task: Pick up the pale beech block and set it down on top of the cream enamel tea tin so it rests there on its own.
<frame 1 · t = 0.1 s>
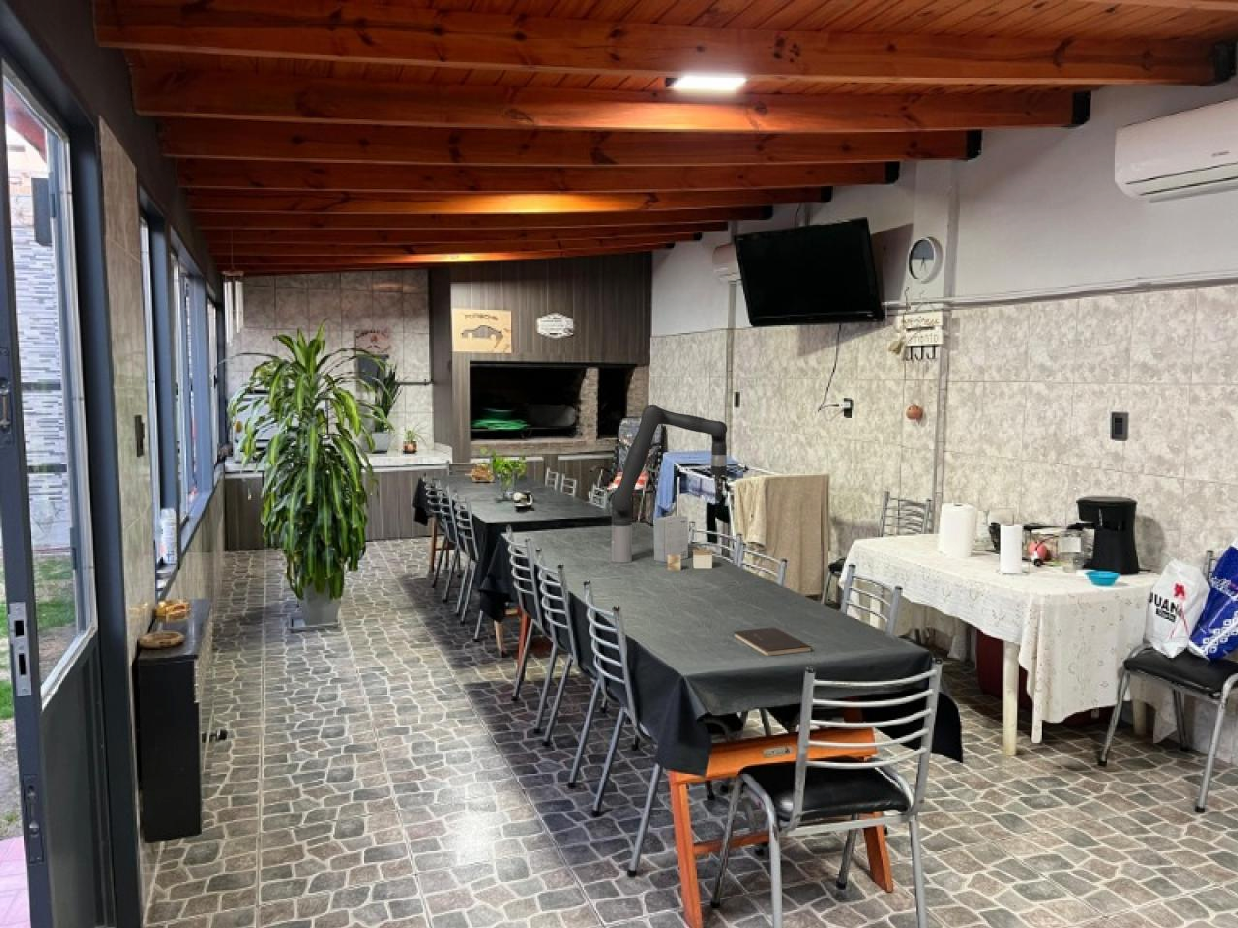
hand: (718, 499, 429), 29 cm above the table, fingers open, 8 cm apart
beech block: (674, 569, 415), on the table
tea tin: (702, 566, 421), on the table
hard drive box: (670, 559, 437), on the table
hardcover book: (771, 645, 300), on the table
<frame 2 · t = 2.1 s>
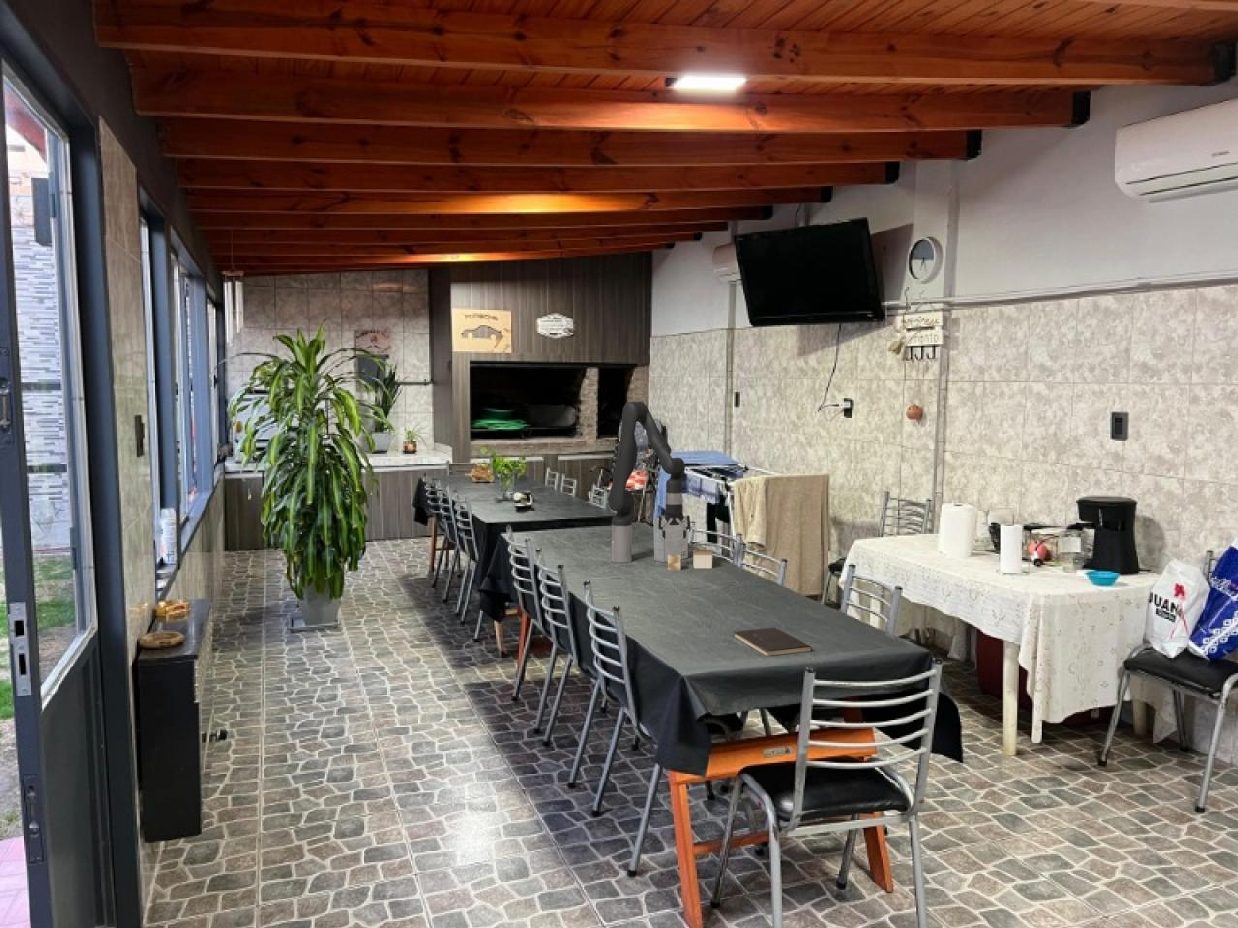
hand: (674, 538, 414), 14 cm above the table, fingers open, 8 cm apart
nothing on the table moved.
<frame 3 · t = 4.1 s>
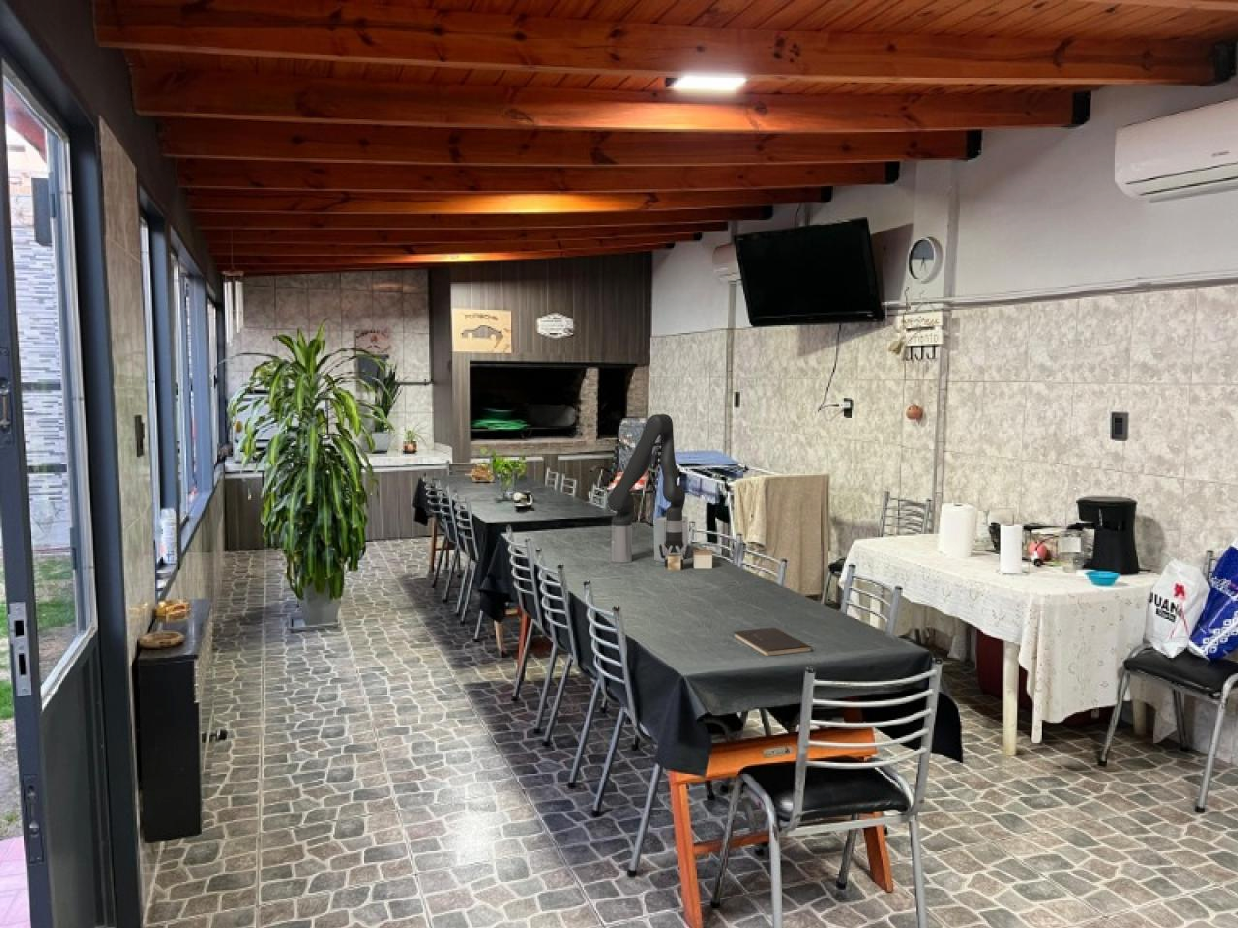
hand: (674, 567, 415), 1 cm above the table, fingers closed on beech block, 5 cm apart
beech block: (673, 568, 415), on the table, touching gripper
everything else where it was.
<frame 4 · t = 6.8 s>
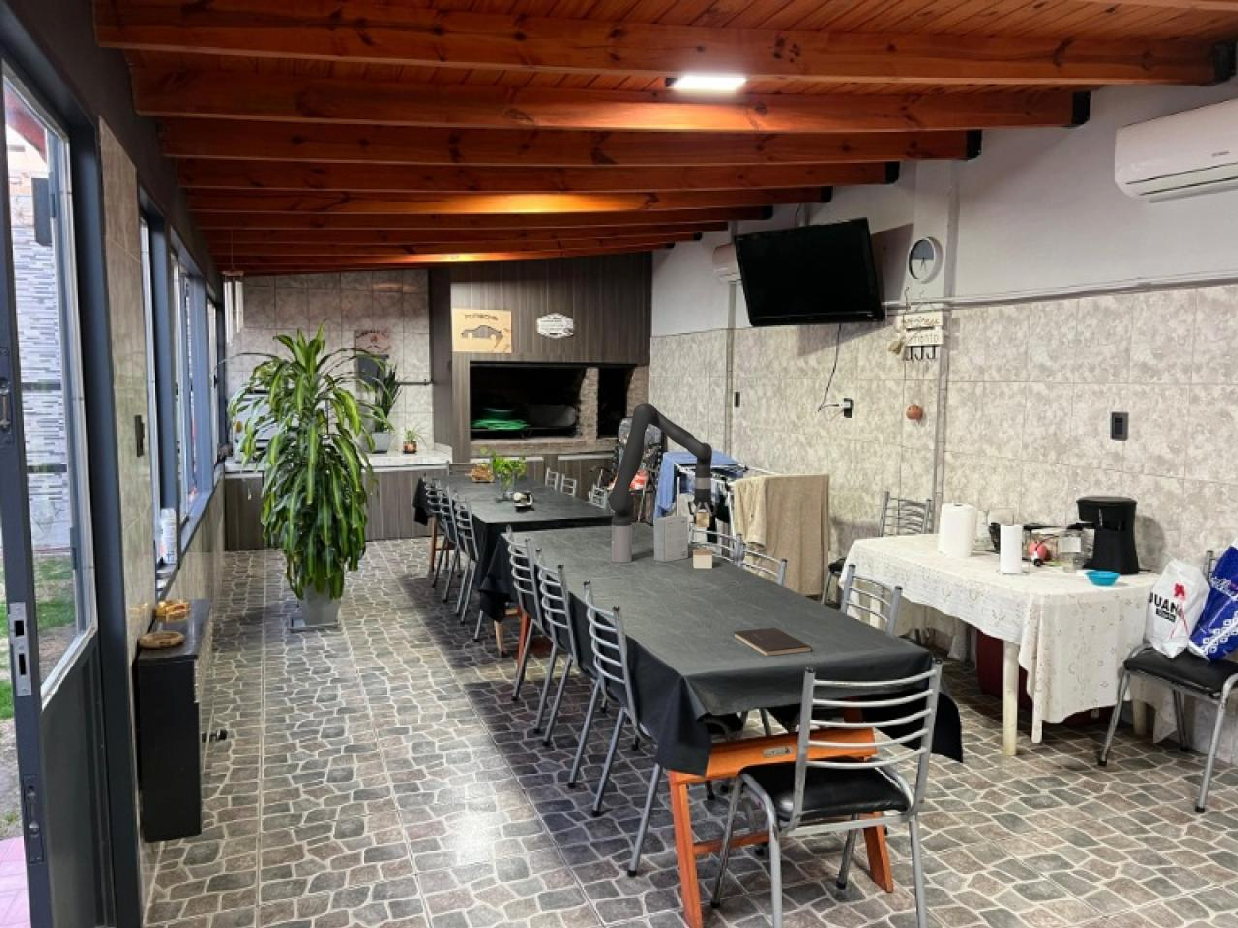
hand: (702, 524, 419), 19 cm above the table, fingers closed on beech block, 5 cm apart
beech block: (702, 525, 419), point 19 cm above the table, touching gripper
everything else where it was.
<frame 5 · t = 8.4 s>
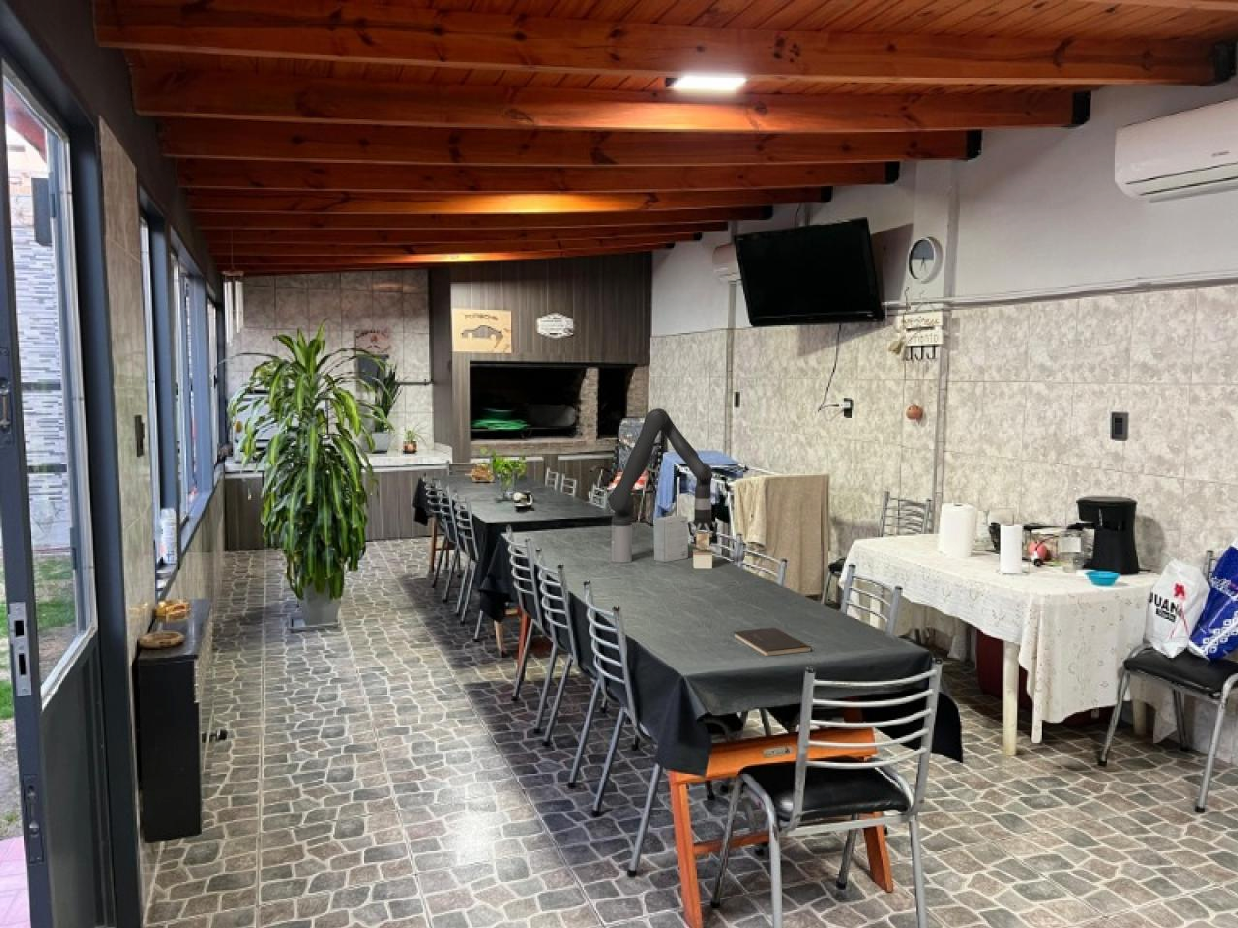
hand: (702, 544, 420), 10 cm above the table, fingers closed on beech block, 5 cm apart
beech block: (702, 546, 420), point 9 cm above the table, touching gripper
everything else where it was.
when the fingers open (9 cm above the table, at t = 9.5 s): beech block drops 1 cm, resting on tea tin.
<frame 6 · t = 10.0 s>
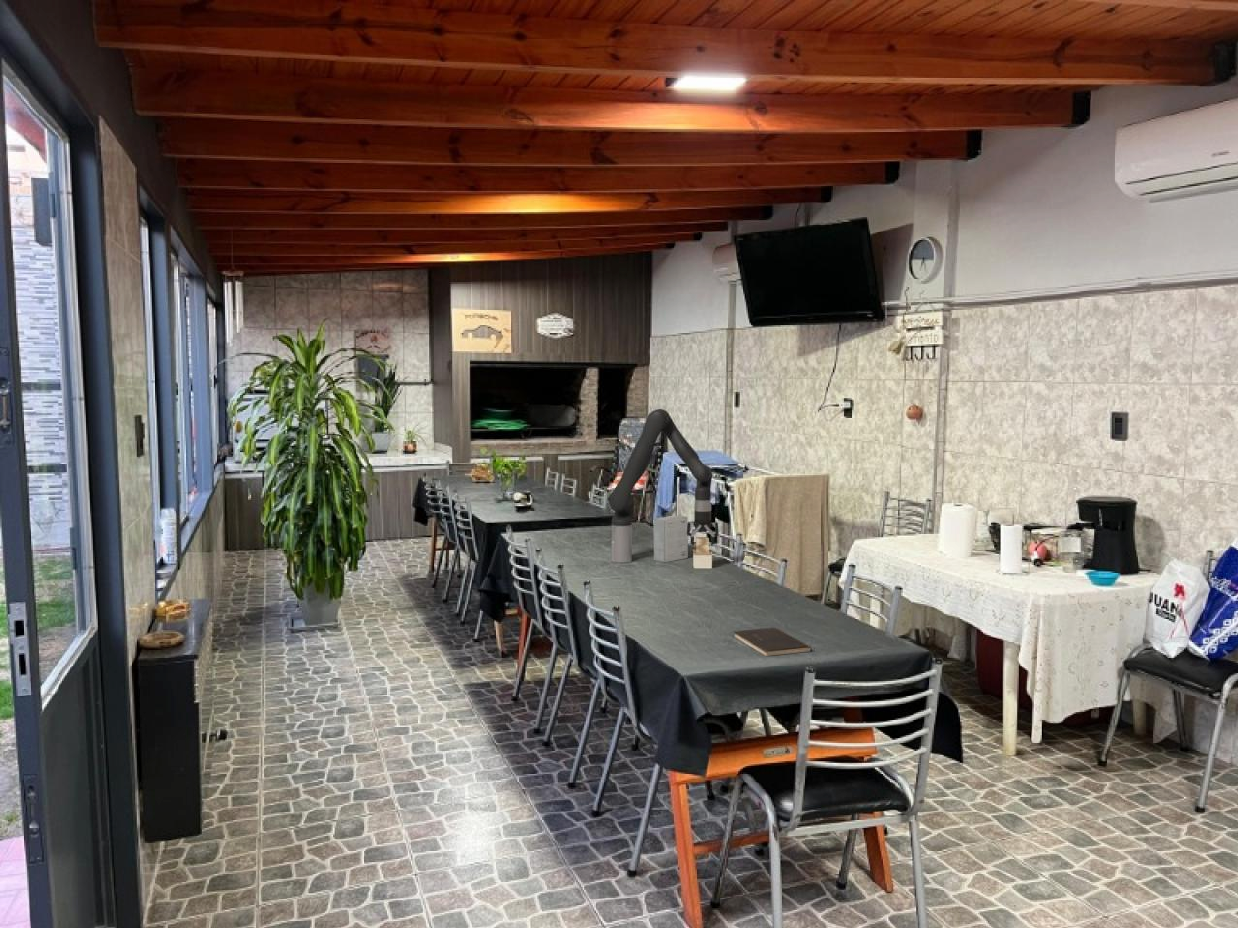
hand: (702, 545, 420), 10 cm above the table, fingers open, 8 cm apart
beech block: (702, 551, 420), point 7 cm above the table, touching tea tin
tea tin: (702, 566, 421), on the table, touching beech block
everything else where it was.
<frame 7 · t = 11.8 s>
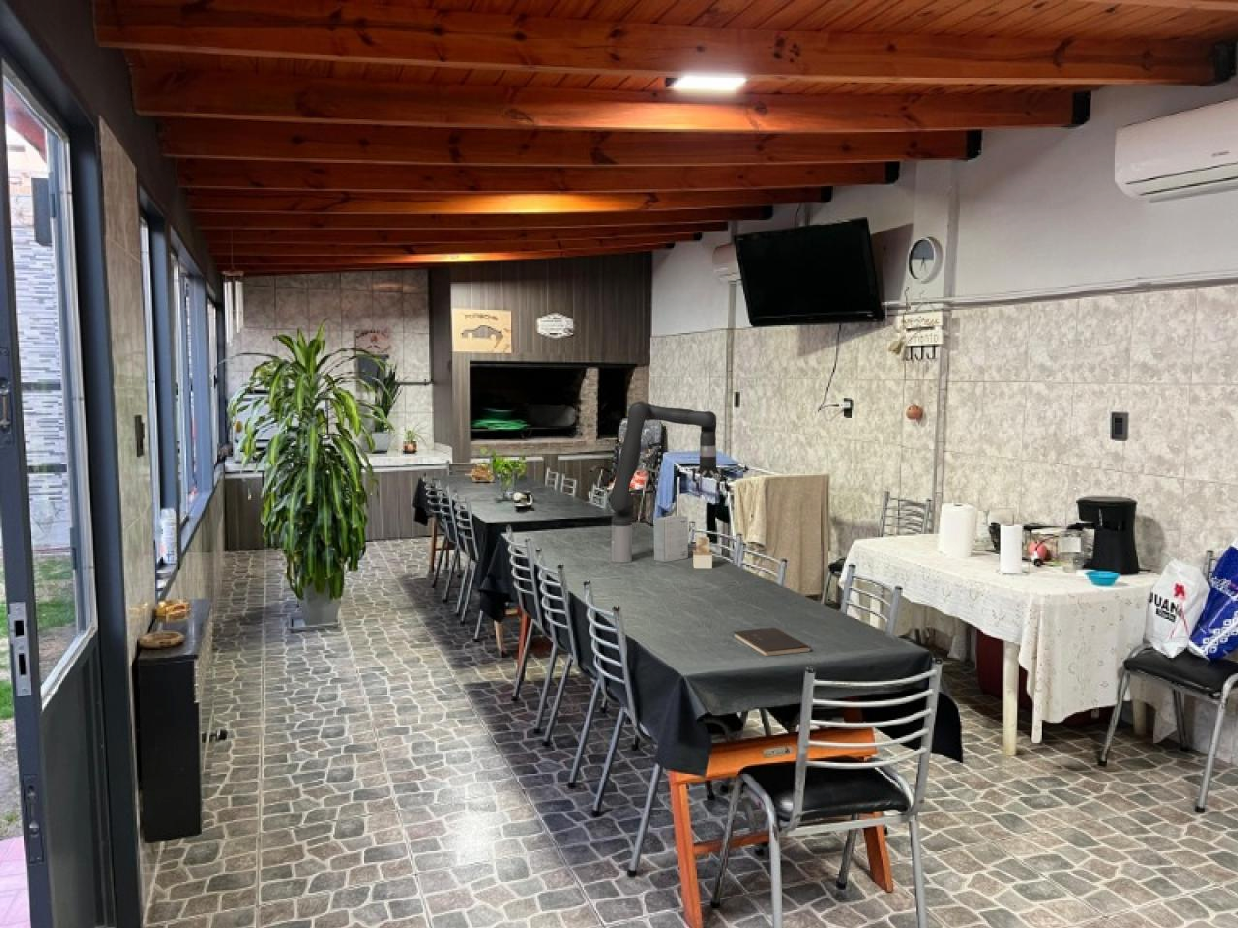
hand: (707, 490, 421), 34 cm above the table, fingers open, 8 cm apart
beech block: (702, 551, 420), point 7 cm above the table
tea tin: (702, 566, 421), on the table
everything else where it was.
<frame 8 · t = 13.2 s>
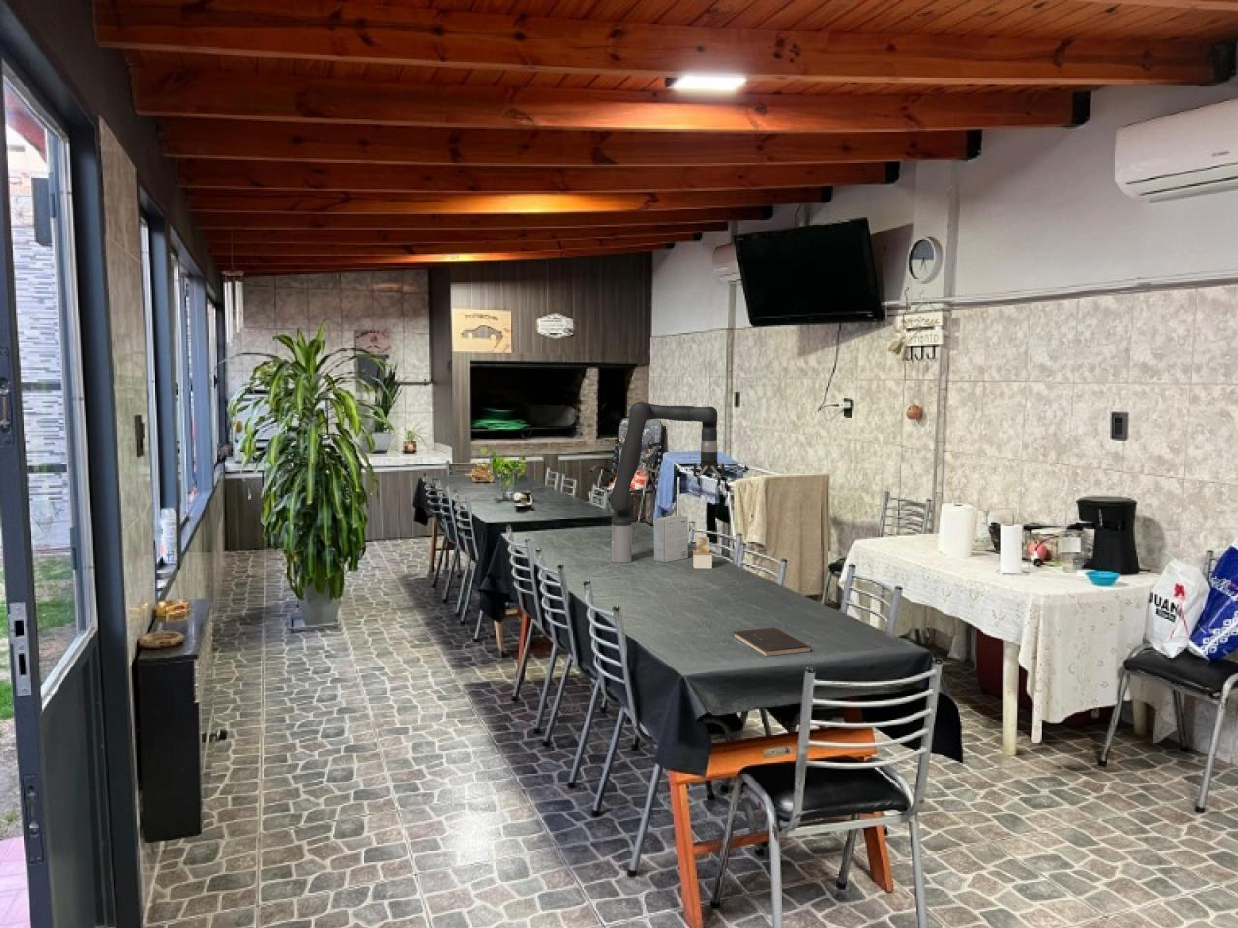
hand: (708, 486, 422), 36 cm above the table, fingers open, 8 cm apart
beech block: (702, 551, 420), point 7 cm above the table, touching tea tin
tea tin: (702, 566, 421), on the table, touching beech block
everything else where it was.
at the end: beech block 0.1 cm off-centre on the tea tin, point 7.0 cm above the tea tin's base; beech block tilted 0°; the gripper is holding nothing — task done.
